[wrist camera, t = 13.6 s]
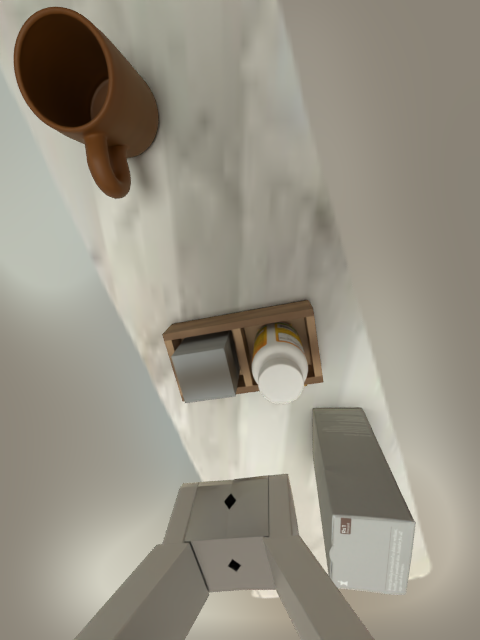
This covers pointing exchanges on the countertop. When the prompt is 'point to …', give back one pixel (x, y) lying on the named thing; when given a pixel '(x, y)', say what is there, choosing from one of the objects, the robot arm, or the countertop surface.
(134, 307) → the countertop surface
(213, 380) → the caddy
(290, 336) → the supplement bottle
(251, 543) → the robot arm
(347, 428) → the skincare box
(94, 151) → the mug
